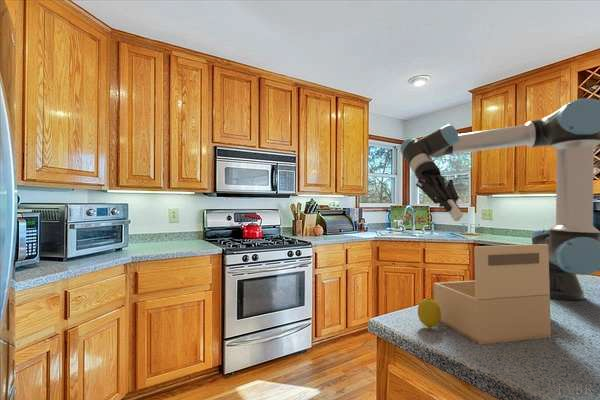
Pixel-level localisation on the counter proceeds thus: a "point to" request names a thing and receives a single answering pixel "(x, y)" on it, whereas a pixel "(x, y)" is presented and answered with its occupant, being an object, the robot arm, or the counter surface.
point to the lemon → (429, 312)
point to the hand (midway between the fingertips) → (458, 217)
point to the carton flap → (511, 271)
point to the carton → (492, 314)
